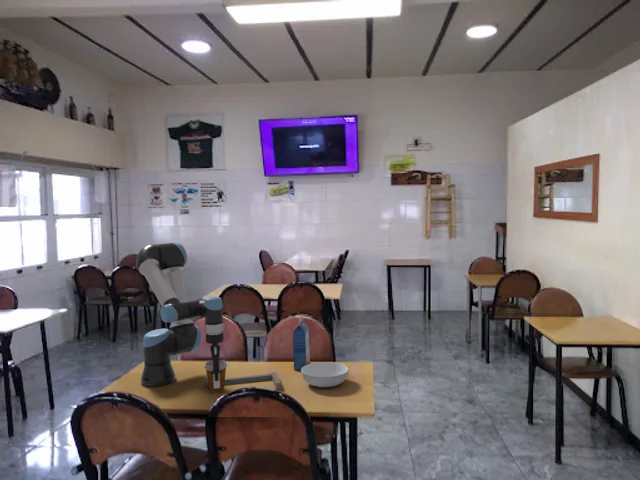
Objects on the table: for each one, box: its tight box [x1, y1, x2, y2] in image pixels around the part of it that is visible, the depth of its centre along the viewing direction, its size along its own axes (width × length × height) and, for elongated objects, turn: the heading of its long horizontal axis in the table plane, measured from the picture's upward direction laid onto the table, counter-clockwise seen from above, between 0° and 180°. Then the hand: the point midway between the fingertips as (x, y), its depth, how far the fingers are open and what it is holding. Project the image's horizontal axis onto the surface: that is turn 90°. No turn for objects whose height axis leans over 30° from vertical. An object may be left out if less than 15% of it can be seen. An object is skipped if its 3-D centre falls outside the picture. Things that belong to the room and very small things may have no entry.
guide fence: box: [204, 371, 282, 391], centre depth 214 cm, size 32×16×3 cm, turn 103°
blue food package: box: [292, 313, 311, 371], centre depth 240 cm, size 6×12×25 cm, turn 173°
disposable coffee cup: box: [204, 359, 228, 393], centre depth 211 cm, size 10×10×12 cm
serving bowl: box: [300, 361, 349, 388], centre depth 215 cm, size 21×21×7 cm
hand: (216, 384), depth 211 cm, fingers closed on disposable coffee cup, 8 cm apart
